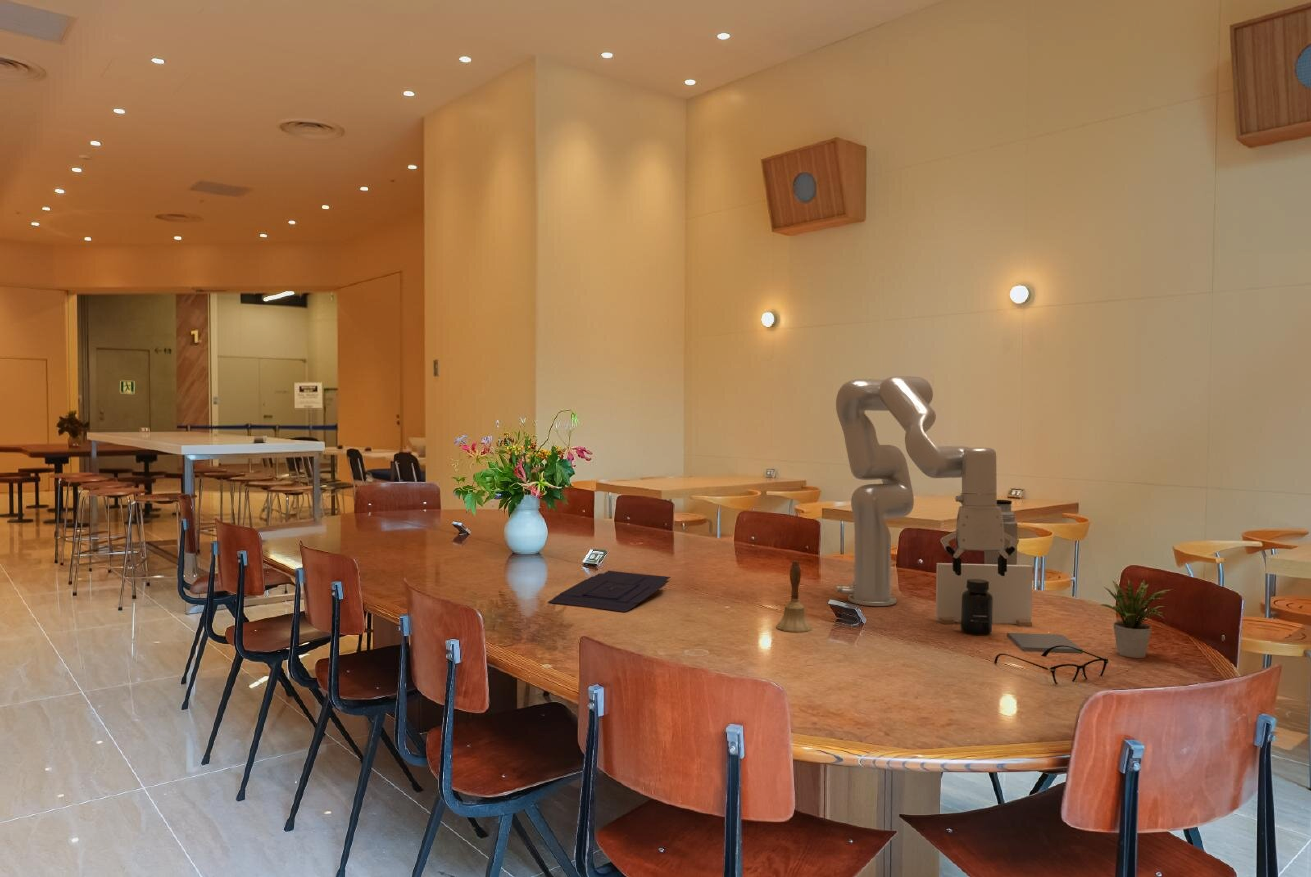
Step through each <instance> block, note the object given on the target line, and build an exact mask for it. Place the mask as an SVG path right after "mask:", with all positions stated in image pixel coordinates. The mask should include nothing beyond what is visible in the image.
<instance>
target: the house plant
mask: <svg viewBox="0 0 1311 877" xmlns="http://www.w3.org/2000/svg"><path fill="white" fill-rule="evenodd" d="M1126 579H1127V584H1128V586H1126V585H1123V588H1125V589H1126V591H1125V592H1124V590H1123V589H1122V588H1121V586H1120V585H1119V584H1118V583H1117V582H1116V581H1113V580H1111V581H1112V583H1113V585H1114V588H1115V591H1116V592H1115V591H1113V592H1112V591H1111V589H1110V588H1107V587H1106V586H1104V588H1105V589H1106V590H1107V591H1108V592H1109V594H1110V595H1111V596H1112V597H1113V599H1114V600H1115V601H1116V603H1117V604H1118V605H1113V606H1112V605H1110V604H1105V603H1104V604H1103V603H1102V604H1100V605H1099V607H1105V608H1108V609H1111V610H1114V611H1115V612H1116V613H1117V614H1119V616H1120V619H1121V620H1119V621H1115V622H1113V623H1112V624H1113V631H1114V638H1115V643H1116V644H1115V645H1116V650H1117V654H1118V655H1120V656H1123V657H1127V658H1133V659H1142V658H1146V656H1147V651H1148V648H1149V641H1150V637H1151V631H1152V626H1151V625H1150V624H1147V623H1145V622H1146V621H1147V620H1149V619H1150V618H1151V617H1153V616H1154V615H1156V616H1159V617H1162V618H1163V619H1165V618H1164V616H1163V614H1162V611H1159V610H1157V609H1158V608H1163V607H1165V606H1164V605H1158V606H1155V607H1149V606H1150V604H1151V603H1152V602H1153V601H1156V600H1163V599H1164V600H1165V597H1159V596H1161V595H1164V594H1167V591H1168V592H1169V589H1164V590H1160V591H1156V592H1155V593H1154V592H1153V593H1152V594H1151V595H1149V596H1148V597H1146V599H1144V597H1145V596H1146V594H1147V588H1148V587H1149V583H1147V584H1145V583H1146V582H1145V579H1143V580H1142V581H1141V583H1140V585H1139V587H1138V588H1137V589H1136V592H1135V594H1134V589H1133V588H1134V587H1132V583H1131V581H1130V579H1129V577H1128V576H1126ZM1173 590H1174V589H1171V591H1173ZM1148 616H1149V617H1148Z"/></svg>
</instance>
